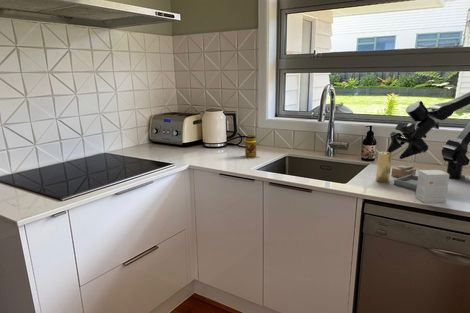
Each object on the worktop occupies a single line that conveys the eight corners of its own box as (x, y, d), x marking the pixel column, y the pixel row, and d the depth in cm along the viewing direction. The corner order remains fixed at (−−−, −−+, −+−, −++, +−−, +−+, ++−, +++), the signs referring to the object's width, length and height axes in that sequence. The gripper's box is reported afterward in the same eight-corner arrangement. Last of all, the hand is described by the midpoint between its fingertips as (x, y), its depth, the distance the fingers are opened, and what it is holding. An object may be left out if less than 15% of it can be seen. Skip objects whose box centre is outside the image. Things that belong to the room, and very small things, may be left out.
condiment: (248, 159, 181) (248, 137, 178) (240, 156, 188) (240, 135, 186) (259, 157, 185) (260, 136, 182) (251, 154, 192) (251, 133, 189)
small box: (436, 197, 123) (440, 169, 121) (446, 202, 118) (450, 173, 115) (414, 197, 123) (418, 169, 121) (423, 203, 118) (427, 174, 115)
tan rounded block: (401, 172, 154) (402, 162, 153) (416, 176, 149) (417, 165, 148) (390, 175, 149) (391, 165, 148) (405, 179, 144) (406, 169, 143)
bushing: (380, 178, 146) (383, 151, 143) (391, 181, 142) (394, 153, 139) (373, 180, 143) (375, 152, 141) (384, 183, 139) (387, 155, 136)
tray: (409, 179, 144) (410, 174, 144) (440, 186, 134) (441, 181, 134) (393, 184, 137) (394, 179, 137) (424, 192, 127) (425, 187, 127)
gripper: (396, 113, 146) (370, 138, 148) (425, 118, 129) (395, 147, 130) (410, 130, 149) (385, 155, 151) (441, 138, 131) (411, 166, 133)
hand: (393, 155), depth 141 cm, fingers open, 9 cm apart
